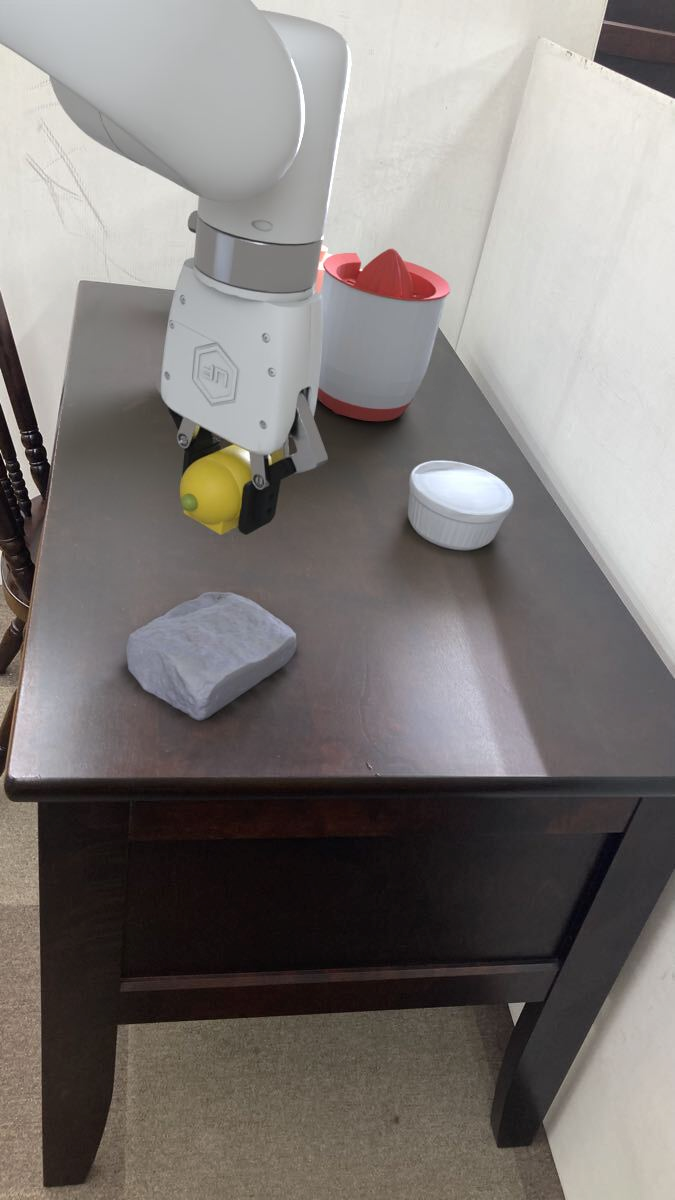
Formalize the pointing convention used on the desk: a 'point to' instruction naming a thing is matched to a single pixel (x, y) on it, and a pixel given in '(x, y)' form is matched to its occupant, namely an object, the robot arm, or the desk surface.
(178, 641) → the stone block
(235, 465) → the lemon
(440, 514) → the ramekin
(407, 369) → the citrus juicer
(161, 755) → the desk surface
